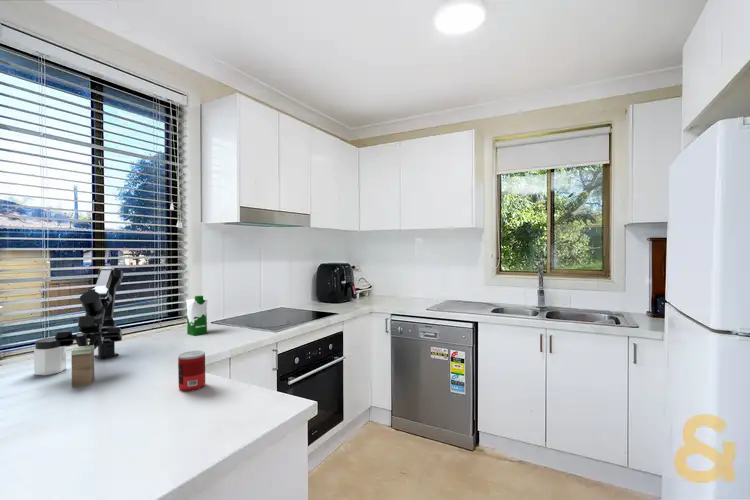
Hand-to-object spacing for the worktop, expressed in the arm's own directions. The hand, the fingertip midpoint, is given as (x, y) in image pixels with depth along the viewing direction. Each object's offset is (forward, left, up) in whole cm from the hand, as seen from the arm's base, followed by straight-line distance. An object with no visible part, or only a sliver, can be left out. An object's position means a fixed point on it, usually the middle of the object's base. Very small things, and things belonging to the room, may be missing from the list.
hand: (85, 357), depth 129 cm
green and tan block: (+2, -2, -8) cm, 8 cm away
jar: (-22, -2, -8) cm, 23 cm away
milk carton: (-27, +62, -8) cm, 68 cm away
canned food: (+38, +13, -8) cm, 41 cm away
